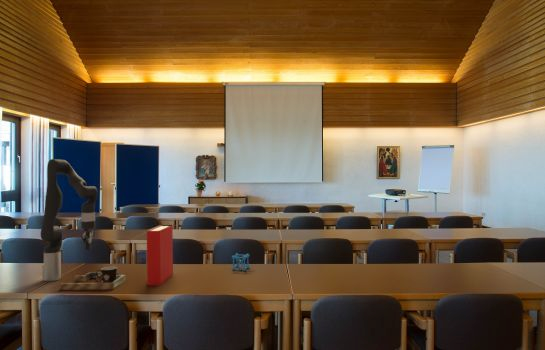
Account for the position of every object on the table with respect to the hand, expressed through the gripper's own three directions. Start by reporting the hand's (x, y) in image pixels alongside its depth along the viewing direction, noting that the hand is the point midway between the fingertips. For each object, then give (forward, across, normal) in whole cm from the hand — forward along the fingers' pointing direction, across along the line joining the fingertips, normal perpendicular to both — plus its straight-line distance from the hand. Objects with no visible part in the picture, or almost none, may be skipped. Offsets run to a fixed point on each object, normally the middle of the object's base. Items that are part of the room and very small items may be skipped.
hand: (88, 249), depth 242 cm
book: (+21, -12, +39) cm, 46 cm away
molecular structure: (+20, -37, +87) cm, 97 cm away
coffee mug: (+21, 0, +12) cm, 24 cm away
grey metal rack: (+21, -4, +3) cm, 22 cm away
